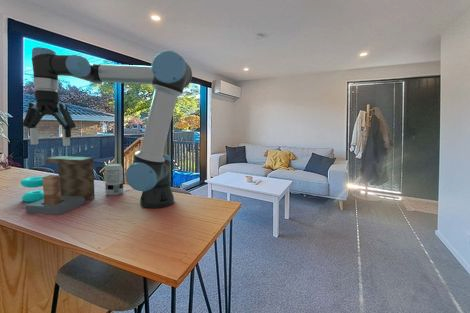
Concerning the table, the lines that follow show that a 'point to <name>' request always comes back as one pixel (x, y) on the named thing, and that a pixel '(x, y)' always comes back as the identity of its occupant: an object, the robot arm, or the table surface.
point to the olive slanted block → (75, 175)
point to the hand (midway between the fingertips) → (50, 145)
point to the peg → (51, 189)
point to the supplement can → (114, 179)
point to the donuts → (32, 183)
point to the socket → (57, 209)
